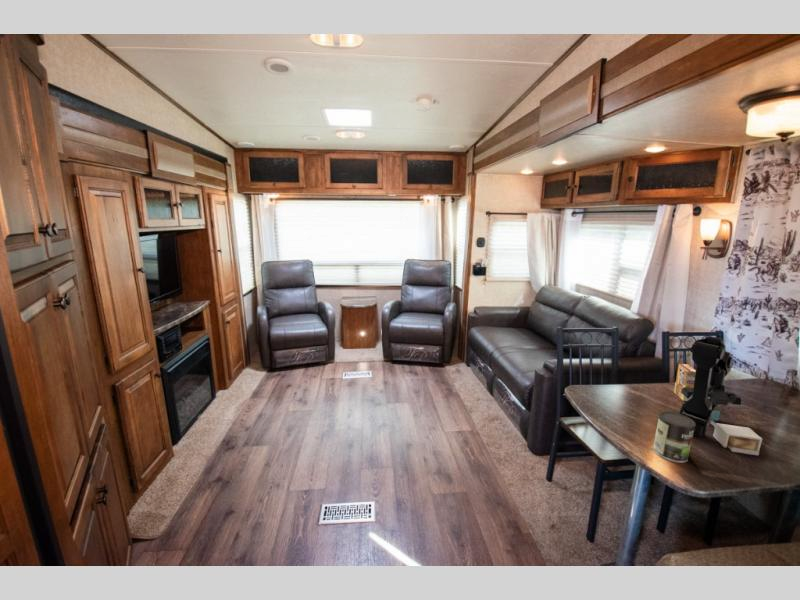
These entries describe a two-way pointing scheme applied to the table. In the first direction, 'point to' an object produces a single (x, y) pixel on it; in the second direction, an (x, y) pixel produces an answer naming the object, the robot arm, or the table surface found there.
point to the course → (735, 434)
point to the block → (741, 443)
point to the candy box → (684, 379)
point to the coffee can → (673, 436)
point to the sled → (716, 417)
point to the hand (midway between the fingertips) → (706, 413)
